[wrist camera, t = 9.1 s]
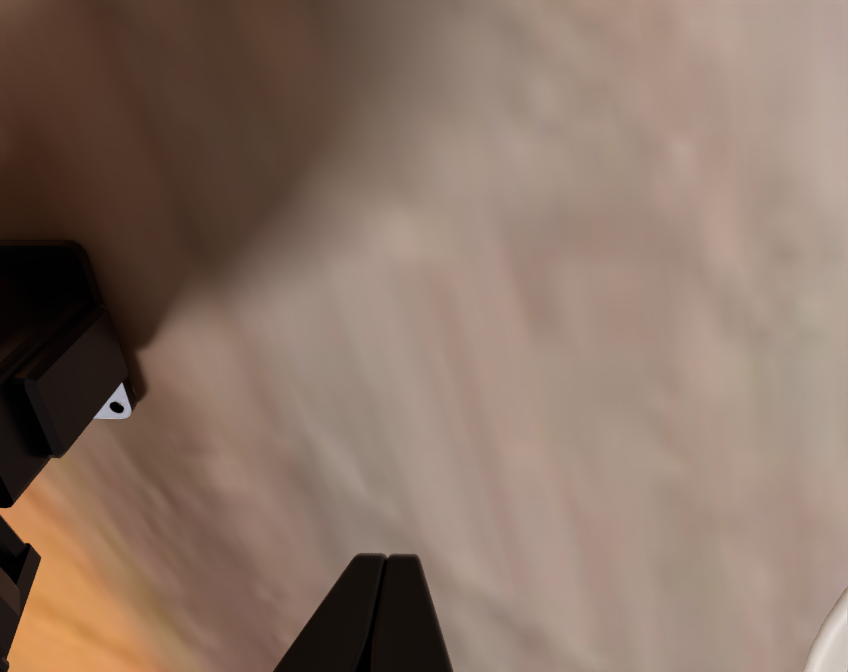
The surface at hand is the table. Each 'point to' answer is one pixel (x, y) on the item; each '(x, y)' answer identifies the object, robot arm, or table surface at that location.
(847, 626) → the soup bowl
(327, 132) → the table surface
